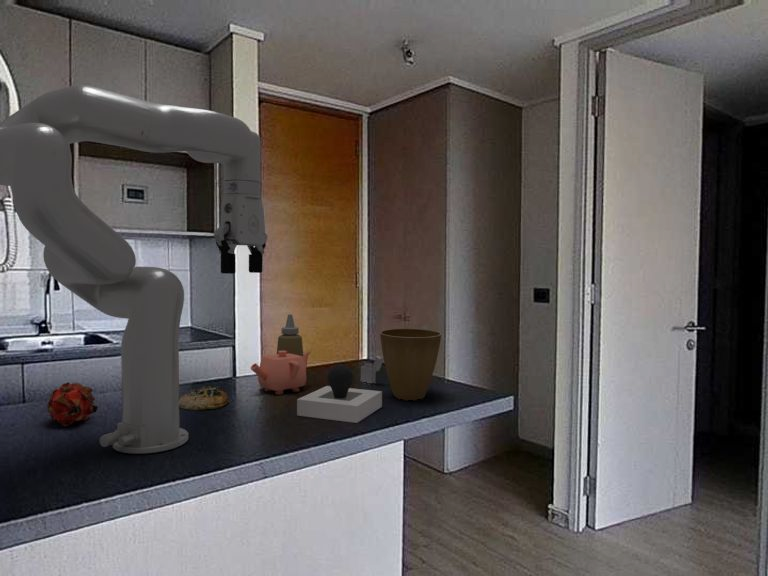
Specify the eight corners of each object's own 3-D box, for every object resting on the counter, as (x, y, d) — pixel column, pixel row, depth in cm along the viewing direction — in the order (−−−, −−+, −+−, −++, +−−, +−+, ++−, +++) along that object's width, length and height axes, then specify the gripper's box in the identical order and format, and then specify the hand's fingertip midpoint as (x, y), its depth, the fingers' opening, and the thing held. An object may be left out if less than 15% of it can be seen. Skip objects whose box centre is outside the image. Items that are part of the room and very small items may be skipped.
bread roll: (219, 396, 137) (219, 376, 136) (236, 412, 128) (236, 391, 127) (172, 404, 130) (171, 383, 129) (186, 422, 121) (186, 400, 120)
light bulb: (354, 406, 127) (355, 362, 126) (350, 413, 121) (351, 367, 121) (330, 405, 127) (330, 361, 127) (325, 412, 122) (325, 366, 121)
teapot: (296, 398, 135) (296, 356, 135) (249, 395, 137) (249, 354, 137) (312, 385, 150) (312, 347, 149) (269, 383, 151) (269, 346, 151)
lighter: (360, 382, 154) (360, 353, 153) (364, 381, 155) (365, 352, 155) (379, 386, 149) (380, 356, 149) (384, 385, 150) (384, 355, 150)
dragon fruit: (73, 420, 120) (79, 444, 110) (35, 402, 115) (37, 426, 106) (99, 387, 122) (107, 408, 112) (63, 368, 117) (67, 388, 107)
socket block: (357, 423, 115) (357, 406, 115) (297, 415, 120) (297, 399, 120) (381, 406, 129) (382, 391, 128) (326, 400, 134) (326, 385, 133)
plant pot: (366, 396, 138) (367, 331, 137) (408, 387, 148) (409, 326, 147) (410, 408, 127) (411, 338, 126) (452, 398, 137) (454, 332, 137)
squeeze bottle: (273, 377, 159) (273, 313, 158) (302, 375, 162) (302, 313, 161) (276, 383, 151) (277, 316, 151) (306, 381, 154) (307, 315, 153)
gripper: (232, 185, 109) (232, 274, 110) (279, 195, 125) (279, 272, 126) (200, 186, 112) (200, 273, 112) (250, 196, 128) (250, 272, 129)
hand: (242, 272), depth 119 cm, fingers open, 9 cm apart
